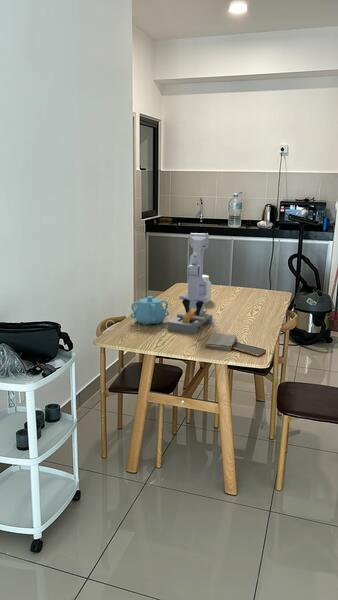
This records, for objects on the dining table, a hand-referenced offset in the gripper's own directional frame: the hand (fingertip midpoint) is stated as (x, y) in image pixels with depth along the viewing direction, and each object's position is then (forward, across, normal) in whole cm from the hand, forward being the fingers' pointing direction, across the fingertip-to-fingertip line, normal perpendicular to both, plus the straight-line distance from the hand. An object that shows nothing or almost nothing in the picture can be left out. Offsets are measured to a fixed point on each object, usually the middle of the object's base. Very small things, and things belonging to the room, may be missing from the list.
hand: (192, 314), depth 242 cm
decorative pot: (+5, -21, -7) cm, 23 cm away
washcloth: (+6, +23, -20) cm, 31 cm away
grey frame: (+5, 0, -3) cm, 6 cm away
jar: (+5, -15, +48) cm, 51 cm away
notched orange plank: (+3, 0, -3) cm, 4 cm away
